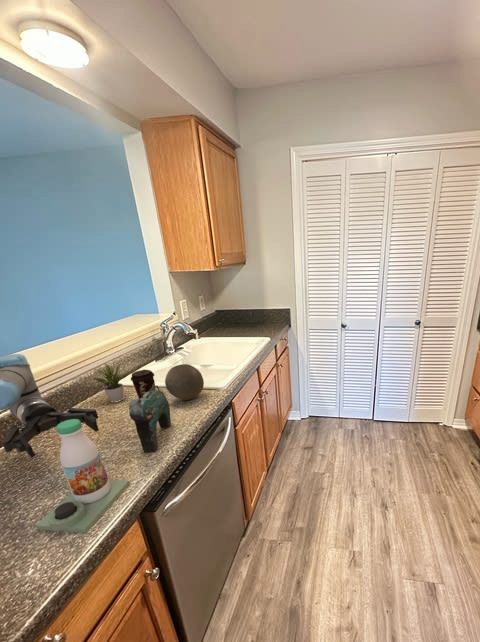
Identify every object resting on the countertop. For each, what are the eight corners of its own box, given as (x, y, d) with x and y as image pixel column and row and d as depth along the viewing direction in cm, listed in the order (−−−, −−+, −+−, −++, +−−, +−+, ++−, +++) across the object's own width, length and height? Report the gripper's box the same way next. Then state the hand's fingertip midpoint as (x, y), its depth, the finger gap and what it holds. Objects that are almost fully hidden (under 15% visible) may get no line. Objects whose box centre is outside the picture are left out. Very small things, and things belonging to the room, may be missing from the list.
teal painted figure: (156, 455, 97) (140, 394, 89) (134, 456, 96) (117, 395, 89) (176, 422, 115) (165, 369, 107) (158, 423, 115) (145, 371, 107)
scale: (83, 535, 70) (79, 525, 68) (34, 532, 71) (29, 522, 70) (130, 483, 85) (127, 474, 84) (88, 482, 86) (85, 472, 85)
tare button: (67, 520, 70) (65, 514, 70) (53, 519, 71) (50, 513, 70) (80, 508, 74) (77, 502, 73) (65, 507, 74) (63, 501, 74)
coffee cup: (156, 395, 138) (149, 367, 133) (163, 401, 132) (156, 371, 127) (135, 402, 133) (127, 372, 128) (140, 408, 127) (132, 377, 122)
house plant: (119, 390, 145) (109, 356, 139) (144, 393, 141) (134, 357, 135) (91, 404, 133) (79, 367, 127) (117, 407, 129) (106, 369, 122)
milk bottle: (67, 501, 78) (38, 429, 70) (95, 481, 85) (70, 413, 77) (92, 507, 76) (64, 434, 68) (118, 486, 82) (95, 416, 75)
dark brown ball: (178, 393, 140) (171, 360, 134) (210, 392, 139) (204, 359, 133) (164, 408, 127) (156, 372, 121) (199, 407, 126) (193, 371, 120)
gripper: (90, 410, 100) (122, 429, 88) (-15, 447, 82) (5, 478, 70) (83, 388, 97) (114, 405, 85) (-28, 421, 80) (-9, 449, 67)
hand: (65, 438), depth 77 cm, fingers open, 13 cm apart
